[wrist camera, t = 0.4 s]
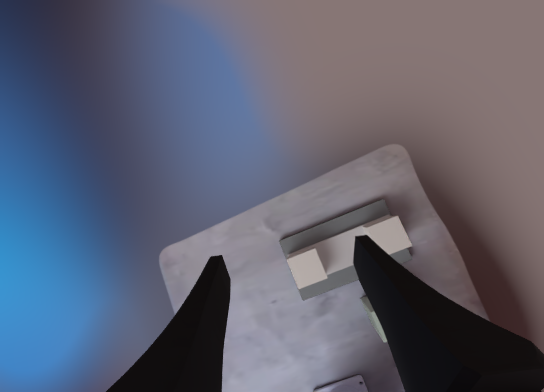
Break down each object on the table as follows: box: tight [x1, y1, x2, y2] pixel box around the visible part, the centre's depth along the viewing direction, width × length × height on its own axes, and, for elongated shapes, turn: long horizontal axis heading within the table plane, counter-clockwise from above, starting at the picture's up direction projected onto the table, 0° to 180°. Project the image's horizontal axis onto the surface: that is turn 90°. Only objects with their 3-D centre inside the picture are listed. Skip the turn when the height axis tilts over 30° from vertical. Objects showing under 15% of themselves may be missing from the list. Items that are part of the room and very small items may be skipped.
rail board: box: [279, 199, 412, 301], centre depth 36 cm, size 10×18×5 cm, turn 112°
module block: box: [360, 296, 387, 343], centre depth 34 cm, size 4×5×6 cm
